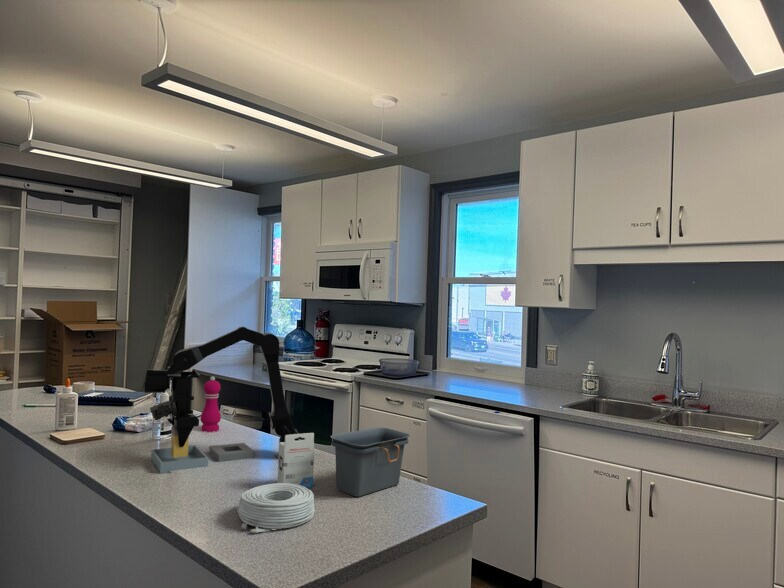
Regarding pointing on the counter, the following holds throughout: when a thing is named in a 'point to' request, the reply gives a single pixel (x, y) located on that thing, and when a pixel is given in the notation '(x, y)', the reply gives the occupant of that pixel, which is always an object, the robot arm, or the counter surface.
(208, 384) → the pepper mill
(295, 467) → the ink box
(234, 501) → the counter surface
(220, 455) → the grey square socket tray
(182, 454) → the block
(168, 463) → the parts tray
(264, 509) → the cable
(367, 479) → the storage bin
